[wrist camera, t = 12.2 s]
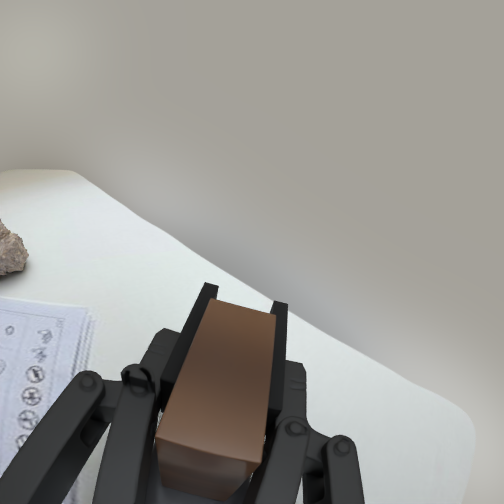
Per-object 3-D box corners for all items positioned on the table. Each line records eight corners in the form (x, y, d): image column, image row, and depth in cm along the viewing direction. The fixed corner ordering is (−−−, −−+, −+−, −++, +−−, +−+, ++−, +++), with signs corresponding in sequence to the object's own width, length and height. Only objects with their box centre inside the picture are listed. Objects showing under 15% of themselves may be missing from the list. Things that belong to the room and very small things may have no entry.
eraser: (232, 533, 9) (293, 512, 5) (138, 509, 9) (101, 464, 5) (254, 400, 18) (297, 300, 14) (184, 382, 18) (198, 274, 14)
